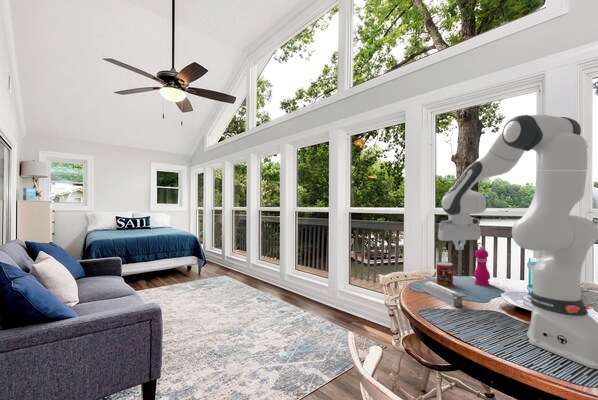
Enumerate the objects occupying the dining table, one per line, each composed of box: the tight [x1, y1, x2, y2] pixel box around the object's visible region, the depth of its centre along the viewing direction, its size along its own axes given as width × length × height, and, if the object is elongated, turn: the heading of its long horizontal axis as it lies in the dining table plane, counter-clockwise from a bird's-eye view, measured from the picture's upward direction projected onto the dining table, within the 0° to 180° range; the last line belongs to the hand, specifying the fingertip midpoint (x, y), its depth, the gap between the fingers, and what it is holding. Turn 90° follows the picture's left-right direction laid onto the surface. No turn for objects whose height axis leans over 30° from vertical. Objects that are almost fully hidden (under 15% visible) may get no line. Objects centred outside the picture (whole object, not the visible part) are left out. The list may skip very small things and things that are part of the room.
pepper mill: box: [473, 245, 491, 287], centre depth 150 cm, size 7×7×20 cm
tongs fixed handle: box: [422, 282, 463, 309], centre depth 128 cm, size 24×3×4 cm, turn 10°
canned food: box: [436, 261, 454, 287], centre depth 151 cm, size 8×8×11 cm
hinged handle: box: [426, 281, 468, 298], centre depth 128 cm, size 24×4×5 cm, turn 11°
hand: (459, 249), depth 133 cm, fingers closed
